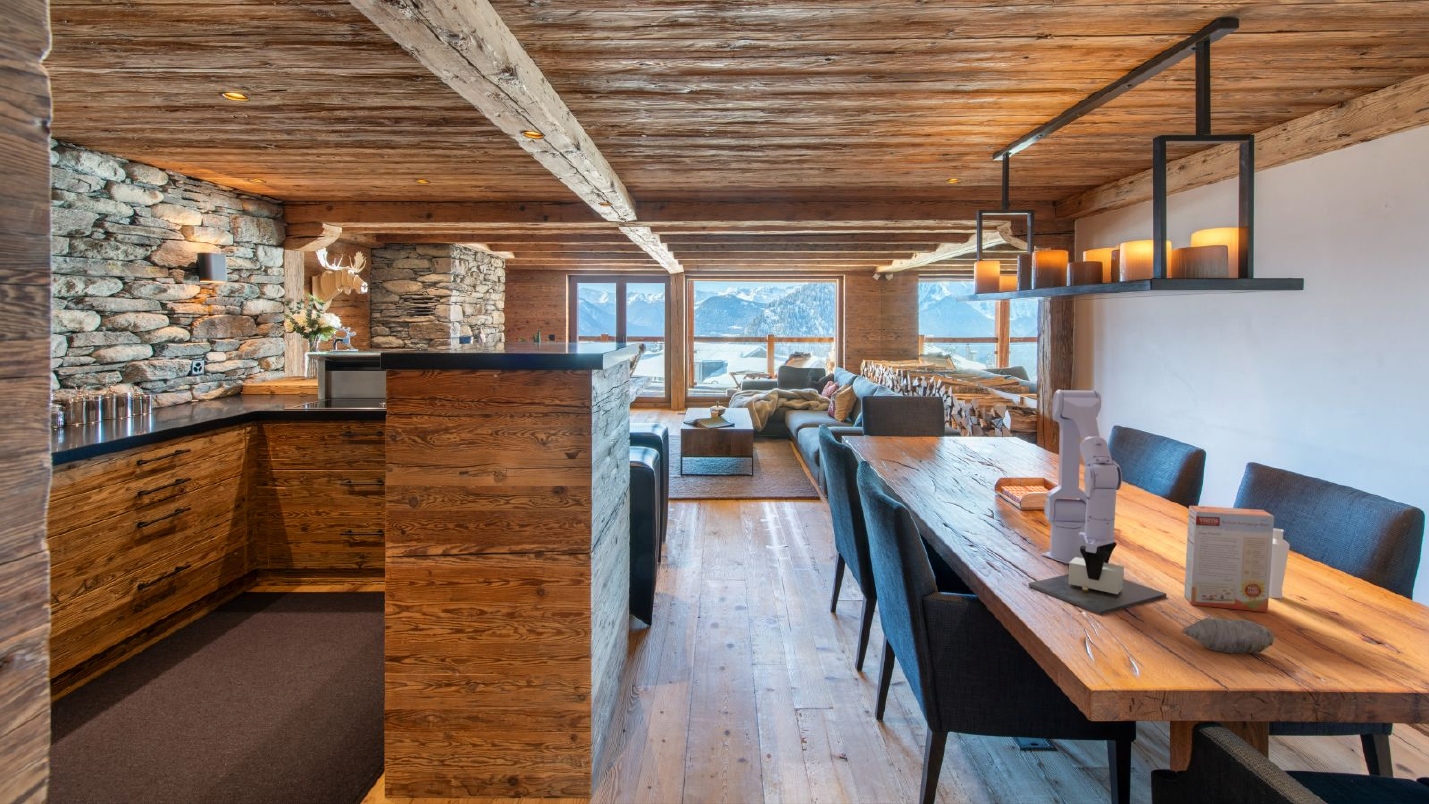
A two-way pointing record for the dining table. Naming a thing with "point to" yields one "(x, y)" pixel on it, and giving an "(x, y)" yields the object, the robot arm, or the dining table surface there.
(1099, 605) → the stand
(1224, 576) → the cracker box
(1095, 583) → the block with square hole
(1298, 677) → the dining table surface
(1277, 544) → the white plastic bottle
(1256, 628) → the seashell
